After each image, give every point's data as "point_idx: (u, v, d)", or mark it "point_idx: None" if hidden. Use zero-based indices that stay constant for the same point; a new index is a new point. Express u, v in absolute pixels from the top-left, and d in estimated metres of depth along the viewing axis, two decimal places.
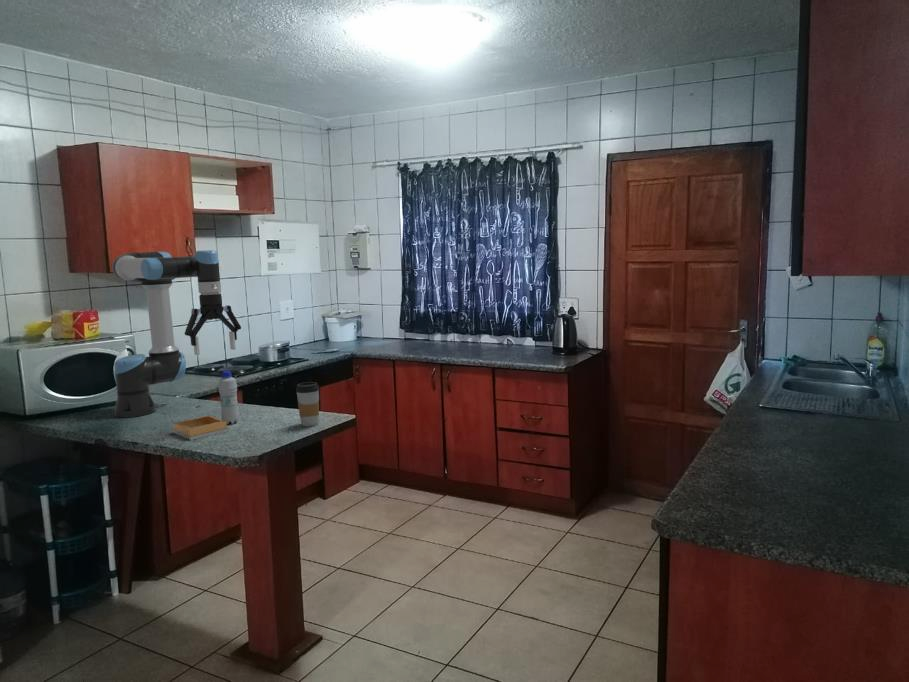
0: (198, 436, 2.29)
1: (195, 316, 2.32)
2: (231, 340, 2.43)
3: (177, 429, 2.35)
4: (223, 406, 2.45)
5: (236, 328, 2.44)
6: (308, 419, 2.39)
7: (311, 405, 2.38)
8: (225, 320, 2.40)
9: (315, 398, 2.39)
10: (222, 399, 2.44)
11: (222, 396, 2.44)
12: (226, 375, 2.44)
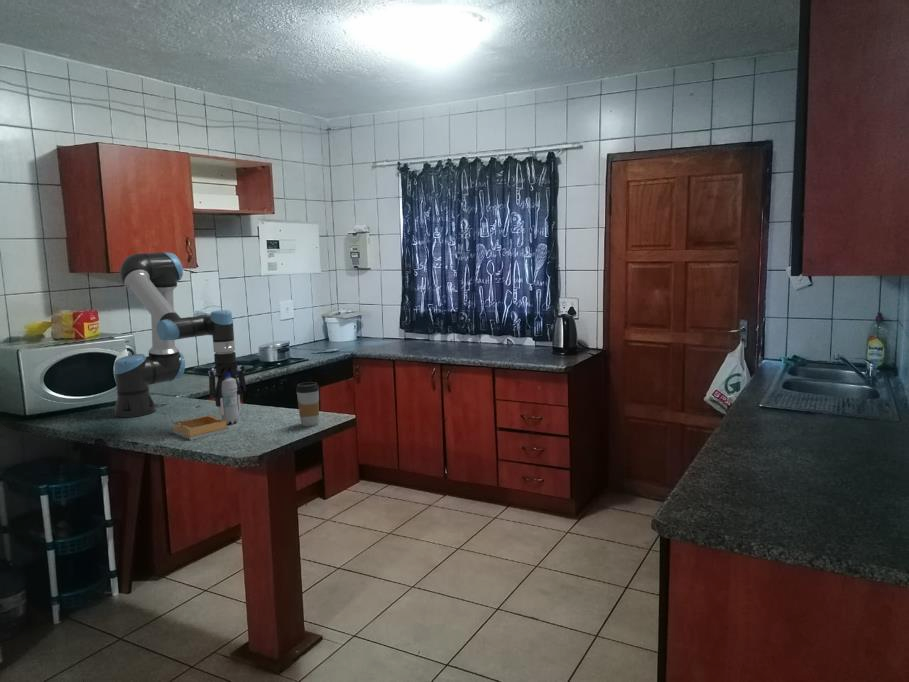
0: (198, 436, 2.29)
1: (213, 378, 2.41)
2: None
3: (177, 429, 2.35)
4: (223, 406, 2.45)
5: (241, 390, 2.50)
6: (308, 419, 2.39)
7: (311, 405, 2.38)
8: None
9: (315, 398, 2.39)
10: None
11: (222, 396, 2.44)
12: (226, 375, 2.44)
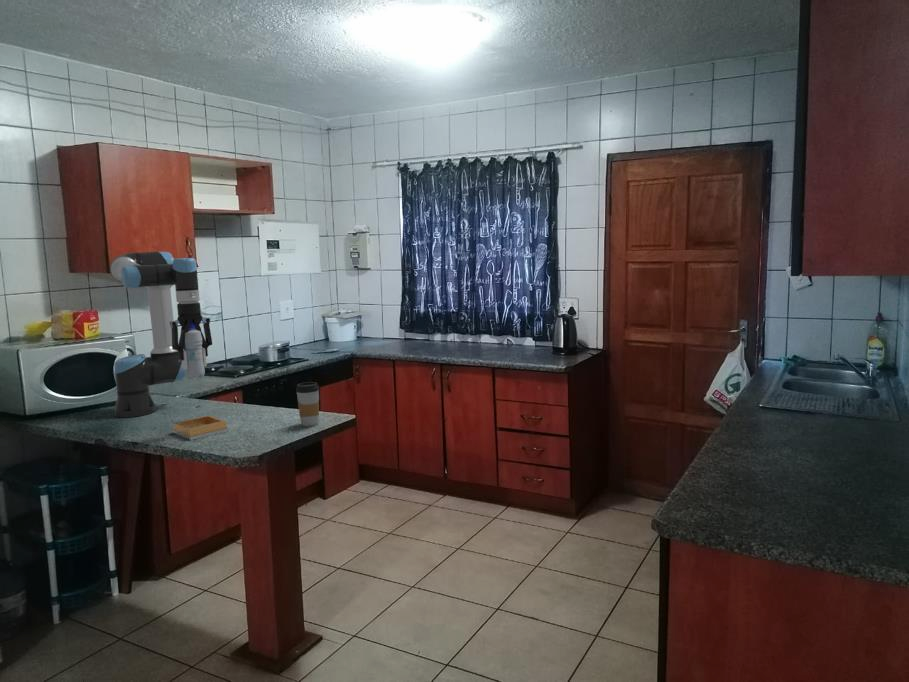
0: (198, 436, 2.29)
1: (176, 329, 2.27)
2: None
3: (177, 429, 2.35)
4: (187, 360, 2.31)
5: (207, 344, 2.36)
6: (308, 419, 2.39)
7: (311, 405, 2.38)
8: None
9: (315, 398, 2.39)
10: None
11: (186, 349, 2.30)
12: (190, 327, 2.30)
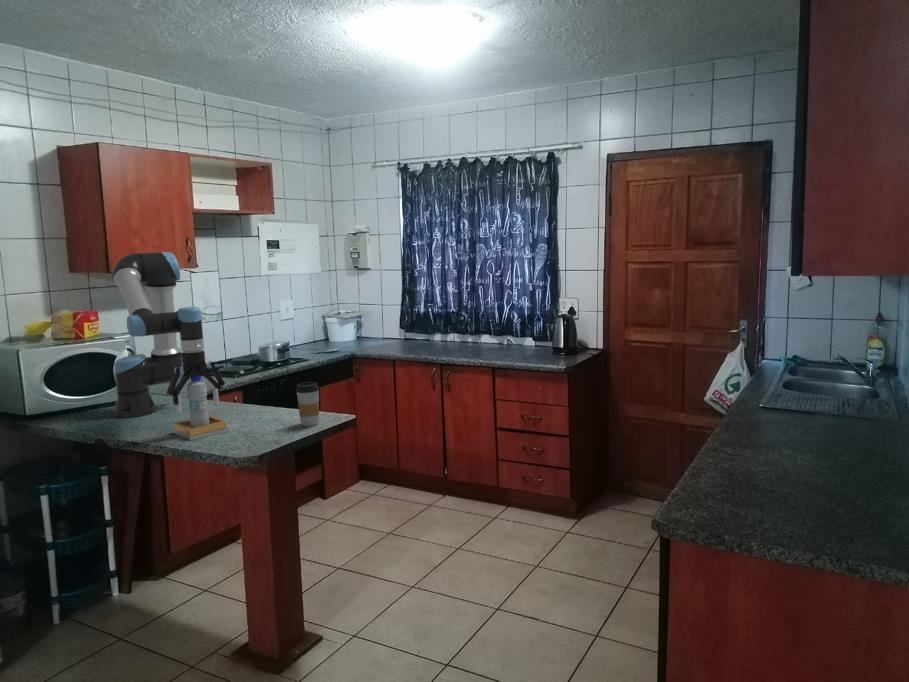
0: (198, 436, 2.29)
1: (177, 375, 2.28)
2: (215, 396, 2.40)
3: (177, 429, 2.35)
4: (192, 411, 2.33)
5: (220, 384, 2.40)
6: (308, 419, 2.39)
7: (311, 405, 2.38)
8: (208, 377, 2.36)
9: (315, 398, 2.39)
10: (190, 404, 2.33)
11: (191, 401, 2.33)
12: (195, 379, 2.33)
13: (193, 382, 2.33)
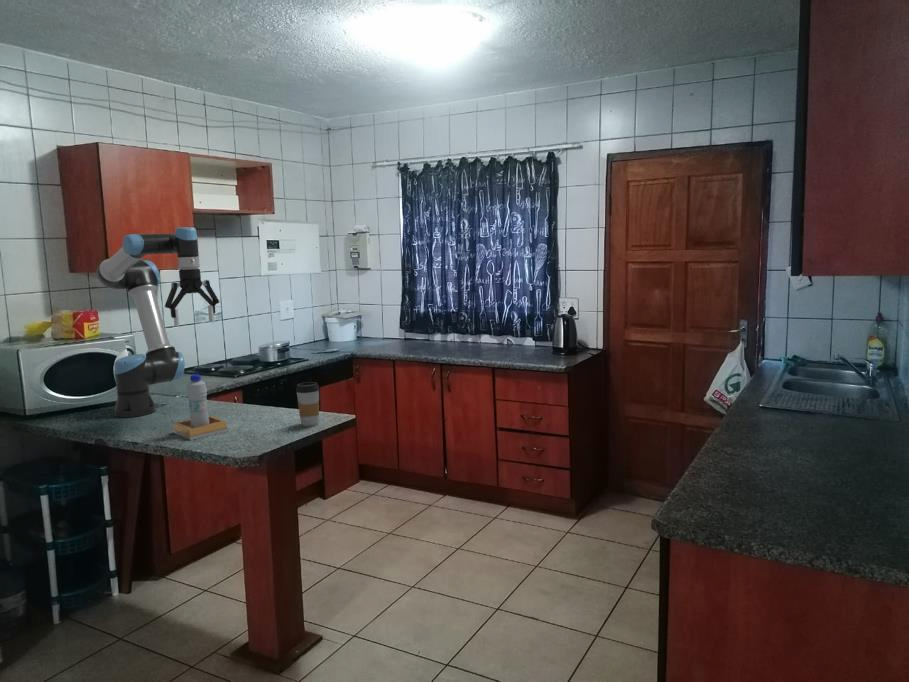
0: (198, 436, 2.29)
1: (175, 289, 2.45)
2: (210, 313, 2.57)
3: (177, 429, 2.35)
4: (192, 411, 2.33)
5: (214, 302, 2.57)
6: (308, 419, 2.39)
7: (311, 405, 2.38)
8: (204, 294, 2.53)
9: (315, 398, 2.39)
10: (190, 404, 2.33)
11: (191, 401, 2.33)
12: (195, 379, 2.33)
13: (193, 382, 2.33)
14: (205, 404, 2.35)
